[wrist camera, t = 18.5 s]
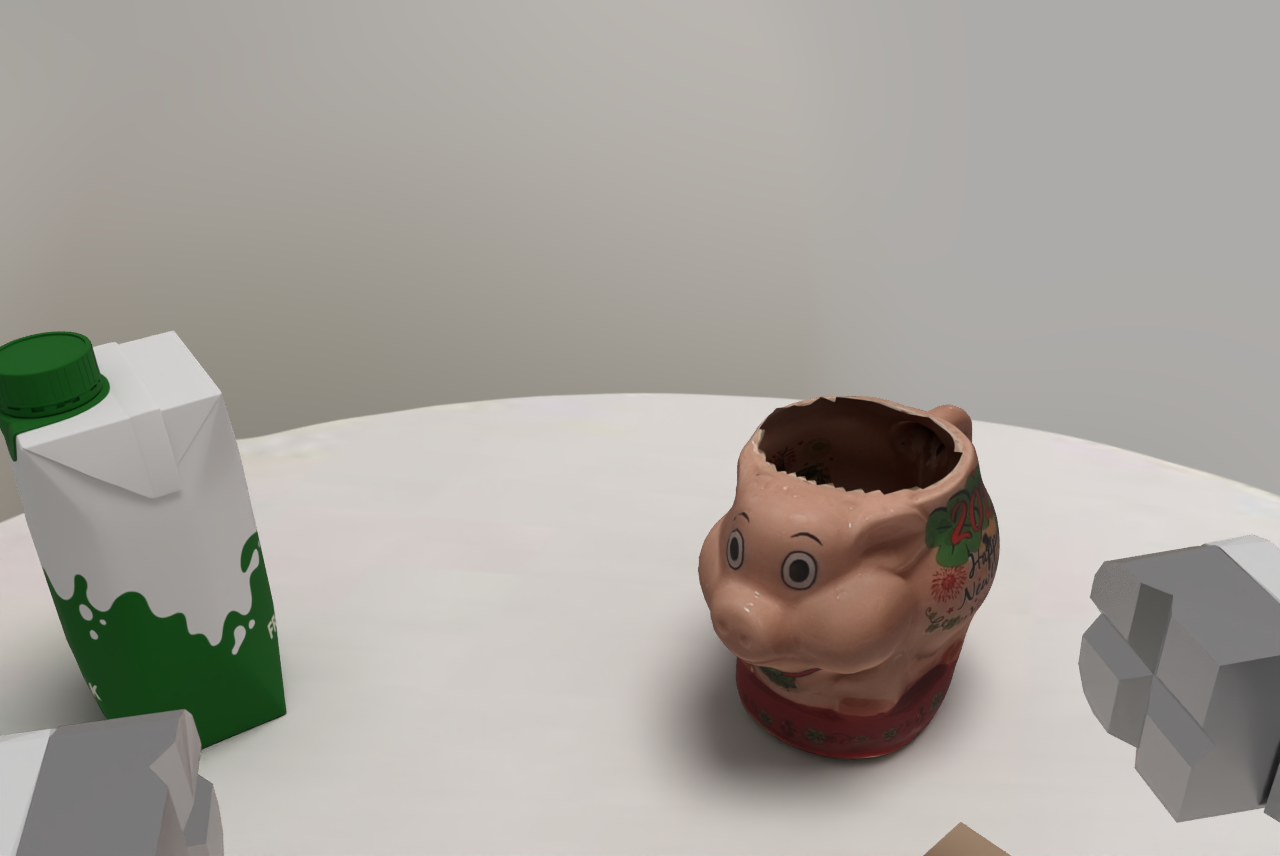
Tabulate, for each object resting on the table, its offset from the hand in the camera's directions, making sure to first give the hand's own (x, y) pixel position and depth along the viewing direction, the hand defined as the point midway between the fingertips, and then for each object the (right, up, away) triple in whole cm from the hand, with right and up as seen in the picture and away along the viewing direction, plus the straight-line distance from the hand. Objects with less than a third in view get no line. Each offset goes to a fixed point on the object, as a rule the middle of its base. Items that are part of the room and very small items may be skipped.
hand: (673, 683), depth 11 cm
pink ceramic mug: (+10, -10, +50) cm, 52 cm away
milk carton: (-22, -11, +50) cm, 56 cm away
